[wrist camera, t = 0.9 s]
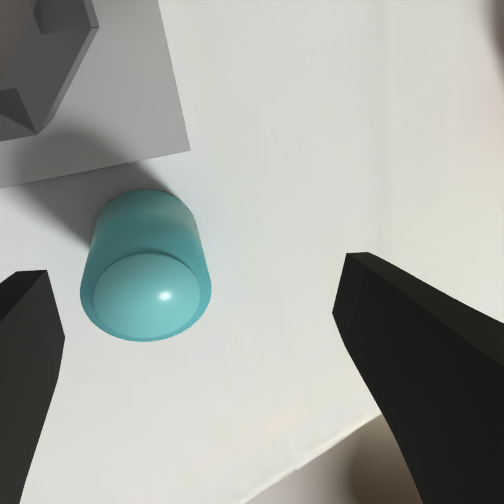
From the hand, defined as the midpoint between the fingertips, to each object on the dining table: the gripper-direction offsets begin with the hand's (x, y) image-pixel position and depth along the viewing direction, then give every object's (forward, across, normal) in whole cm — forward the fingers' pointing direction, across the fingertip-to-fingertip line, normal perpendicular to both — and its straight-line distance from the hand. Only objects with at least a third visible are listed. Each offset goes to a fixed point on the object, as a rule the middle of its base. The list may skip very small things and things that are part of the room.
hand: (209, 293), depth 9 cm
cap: (+10, +2, +4) cm, 11 cm away
